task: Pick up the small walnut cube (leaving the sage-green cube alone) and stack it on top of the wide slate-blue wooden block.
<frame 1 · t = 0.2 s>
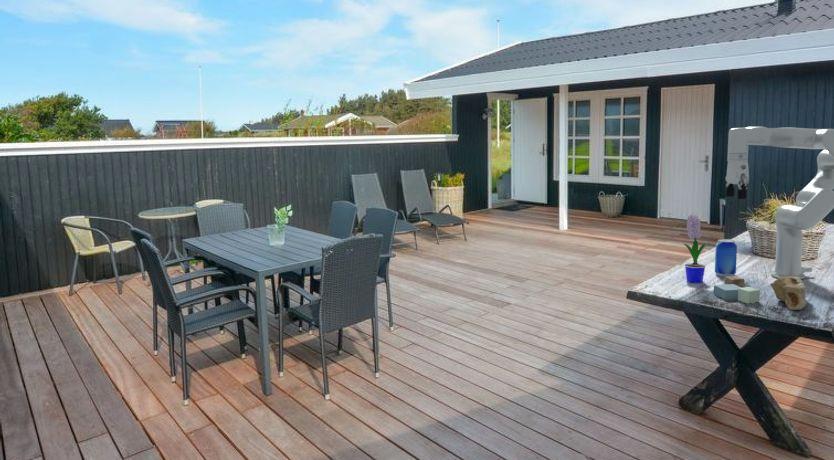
hand: (735, 197, 241), 36 cm above the table, tool pointing down, fingers open, 9 cm apart
sage cube: (748, 301, 216), on the table
stone: (787, 304, 211), on the table
hyacinth: (696, 281, 248), on the table
base block: (729, 296, 224), on the table
walnut cube: (733, 289, 233), on the table
beer can: (725, 275, 255), on the table
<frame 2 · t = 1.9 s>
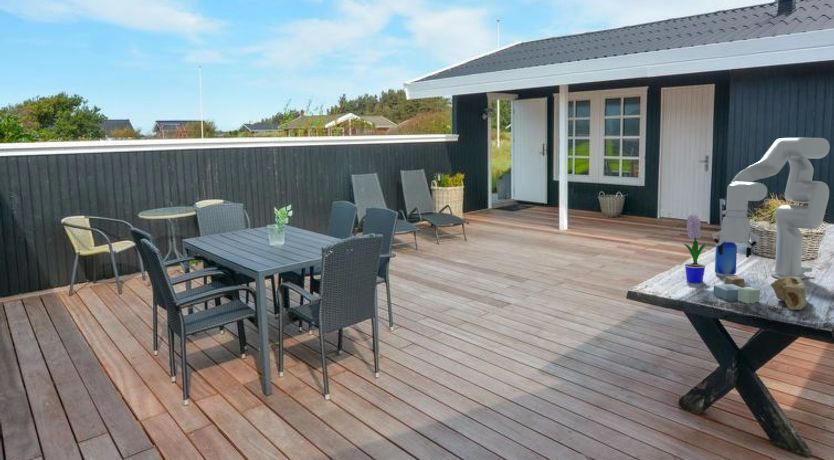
hand: (734, 255, 230), 14 cm above the table, tool pointing down, fingers open, 9 cm apart
nothing on the table moved.
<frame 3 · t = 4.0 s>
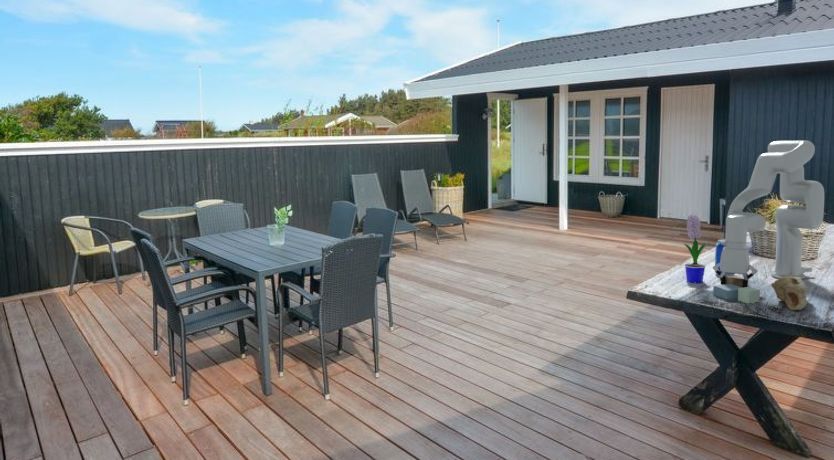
hand: (733, 287, 232), 1 cm above the table, tool pointing down, fingers closed on walnut cube, 7 cm apart
walnut cube: (733, 289, 233), on the table, touching gripper
everything else where it was.
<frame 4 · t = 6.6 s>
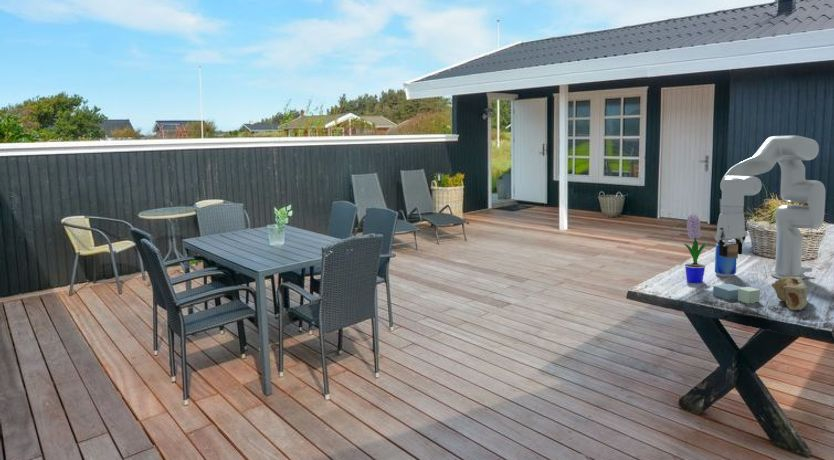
hand: (730, 254, 221), 17 cm above the table, tool pointing down, fingers closed on walnut cube, 7 cm apart
walnut cube: (730, 256, 221), point 16 cm above the table, touching gripper
everything else where it was.
when the fingers open (6 cm above the table, at t = 9.4 s): walnut cube drops 1 cm, resting on base block.
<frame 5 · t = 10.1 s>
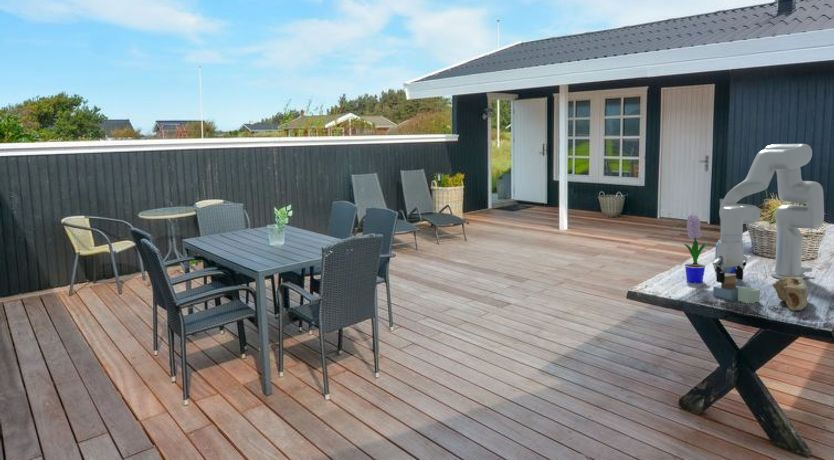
hand: (729, 280, 223), 6 cm above the table, tool pointing down, fingers open, 9 cm apart
base block: (729, 297, 224), on the table, touching walnut cube
walnut cube: (728, 287, 223), point 4 cm above the table, touching base block
everything else where it was.
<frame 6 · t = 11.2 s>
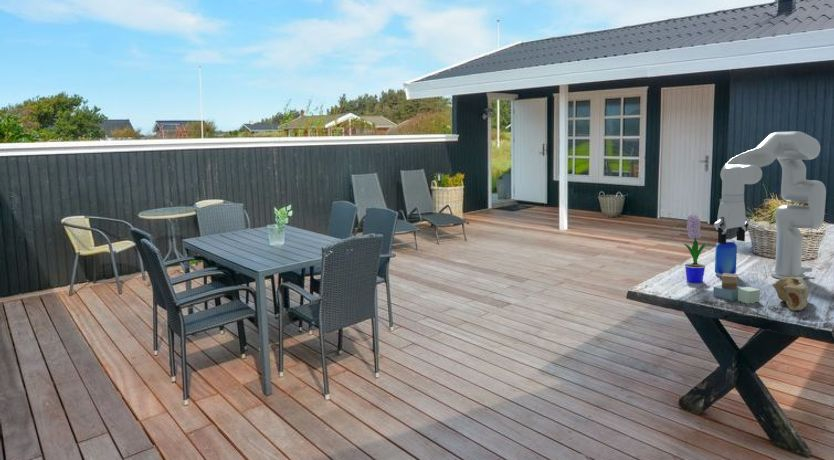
hand: (731, 242, 220), 22 cm above the table, tool pointing down, fingers open, 9 cm apart
base block: (729, 297, 224), on the table
walnut cube: (729, 287, 223), point 4 cm above the table
everything else where it was.
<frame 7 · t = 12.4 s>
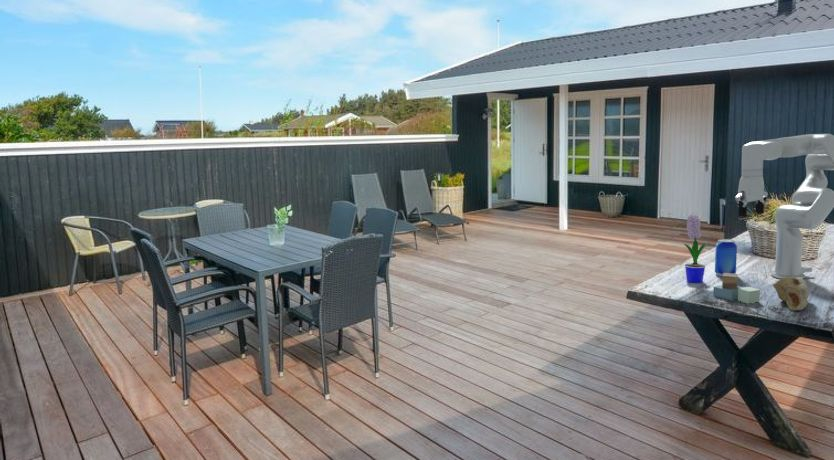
hand: (751, 214, 234), 30 cm above the table, tool pointing down, fingers open, 9 cm apart
base block: (729, 297, 224), on the table, touching walnut cube
walnut cube: (729, 287, 223), point 4 cm above the table, touching base block
everything else where it was.
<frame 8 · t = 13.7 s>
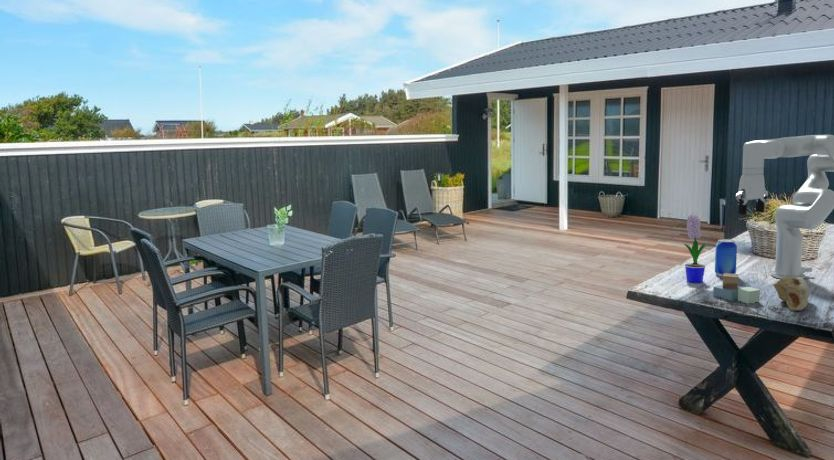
hand: (751, 213, 235), 30 cm above the table, tool pointing down, fingers open, 9 cm apart
nothing on the table moved.
at the end: walnut cube 0.3 cm off-centre on the base block, point 4.0 cm above the base block's base; the gripper is holding nothing; sage cube moved 0.1 cm from its start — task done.
